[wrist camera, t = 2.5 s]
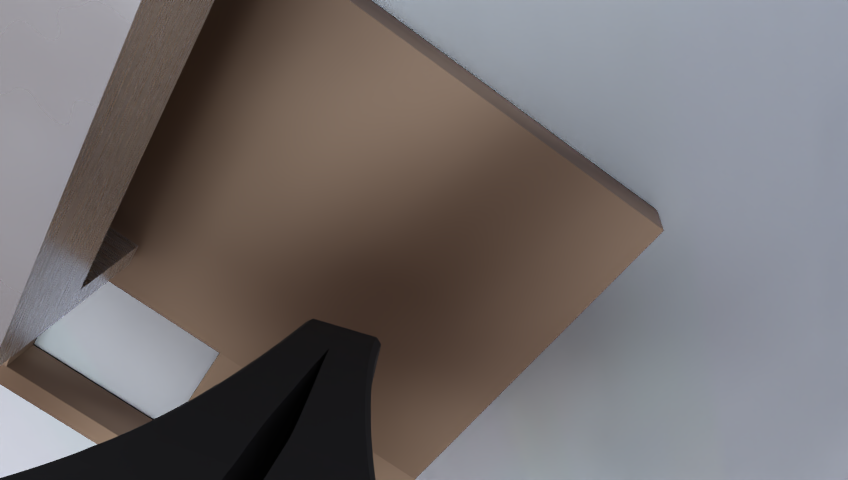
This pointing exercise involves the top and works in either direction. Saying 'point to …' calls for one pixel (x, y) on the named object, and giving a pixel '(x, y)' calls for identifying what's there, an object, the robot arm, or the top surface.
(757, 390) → the top surface
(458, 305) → the board
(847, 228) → the top surface
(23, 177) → the housing
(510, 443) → the top surface
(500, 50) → the top surface
